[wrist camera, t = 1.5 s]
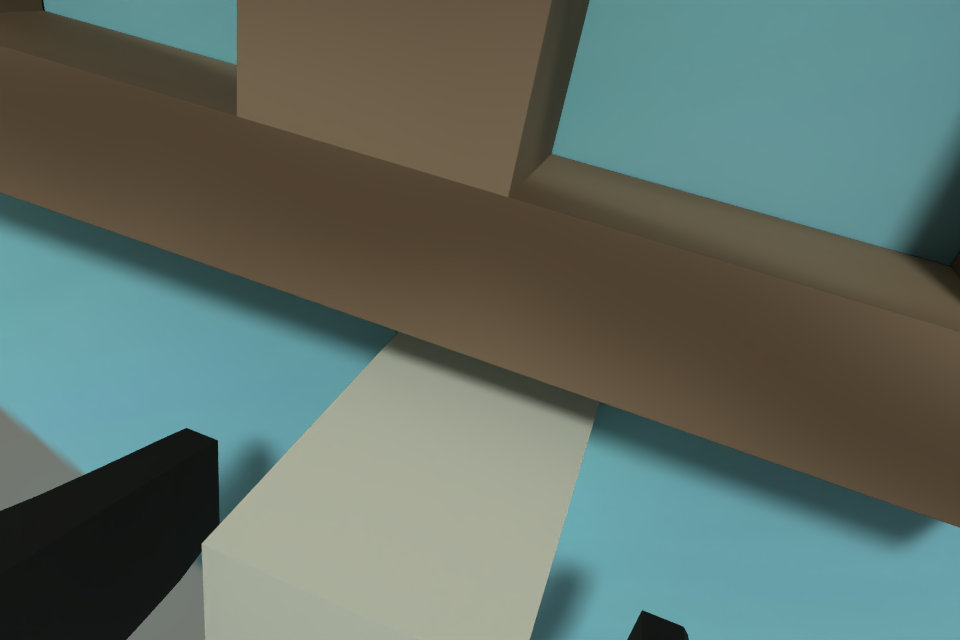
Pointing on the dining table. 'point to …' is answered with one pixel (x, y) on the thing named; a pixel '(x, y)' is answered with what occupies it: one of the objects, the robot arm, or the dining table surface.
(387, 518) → the plug
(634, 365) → the socket board
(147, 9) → the dining table surface
